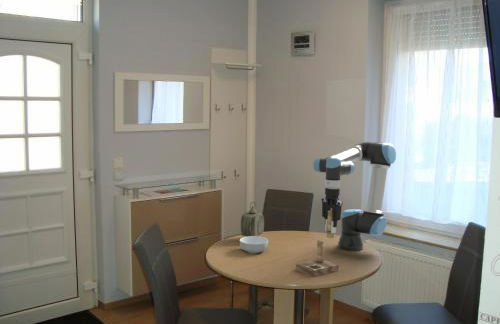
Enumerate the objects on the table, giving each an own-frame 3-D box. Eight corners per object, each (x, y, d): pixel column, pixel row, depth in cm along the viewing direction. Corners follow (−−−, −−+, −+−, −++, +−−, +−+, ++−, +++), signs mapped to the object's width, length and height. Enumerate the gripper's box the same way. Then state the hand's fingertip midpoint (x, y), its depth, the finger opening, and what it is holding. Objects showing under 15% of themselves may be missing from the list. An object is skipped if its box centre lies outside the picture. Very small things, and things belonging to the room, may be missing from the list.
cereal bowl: (236, 248, 298) (236, 236, 297) (262, 246, 303) (262, 235, 302) (244, 256, 282) (244, 244, 281) (272, 254, 287) (272, 242, 286)
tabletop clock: (252, 237, 322) (252, 199, 319) (264, 239, 318) (265, 200, 315) (240, 242, 310) (240, 203, 307) (253, 245, 305) (253, 204, 302)
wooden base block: (320, 263, 271) (321, 238, 269) (338, 270, 260) (339, 244, 258) (295, 269, 260) (296, 243, 259) (312, 277, 250) (313, 249, 248)
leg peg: (330, 235, 264) (331, 209, 263) (335, 237, 262) (336, 210, 260) (325, 236, 262) (326, 210, 261) (330, 238, 259) (331, 211, 258)
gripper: (316, 186, 264) (314, 229, 266) (338, 190, 250) (336, 236, 253) (326, 185, 268) (324, 228, 271) (349, 189, 255) (347, 234, 257)
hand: (330, 232), depth 262 cm, fingers closed on leg peg, 4 cm apart
